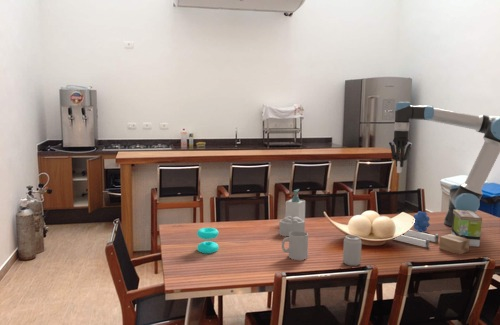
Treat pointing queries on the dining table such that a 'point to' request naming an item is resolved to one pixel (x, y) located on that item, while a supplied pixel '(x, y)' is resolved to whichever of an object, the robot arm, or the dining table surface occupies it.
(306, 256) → the mug
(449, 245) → the block
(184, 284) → the dining table surface
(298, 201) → the soap bottle
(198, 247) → the donuts
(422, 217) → the grapes
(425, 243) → the white parallel rail frame
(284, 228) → the lumpy-topped squat cylinder
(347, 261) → the can
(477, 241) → the tea box
